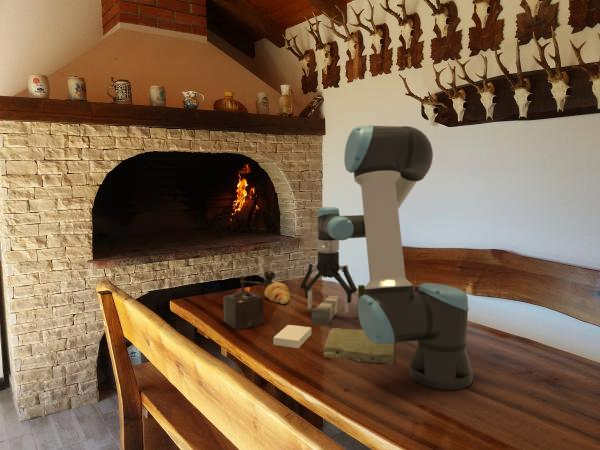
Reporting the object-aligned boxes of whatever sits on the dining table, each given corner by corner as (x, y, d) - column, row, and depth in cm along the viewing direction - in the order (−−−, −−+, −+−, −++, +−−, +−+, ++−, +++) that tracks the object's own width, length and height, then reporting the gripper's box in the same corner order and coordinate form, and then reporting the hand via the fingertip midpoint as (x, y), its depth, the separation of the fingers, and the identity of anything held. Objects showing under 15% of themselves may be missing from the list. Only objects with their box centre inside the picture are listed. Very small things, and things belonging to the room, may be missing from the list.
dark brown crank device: (237, 331, 147) (236, 277, 145) (222, 322, 156) (221, 271, 154) (278, 322, 156) (277, 270, 154) (261, 313, 165) (261, 265, 163)
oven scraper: (328, 325, 152) (328, 311, 152) (311, 323, 154) (311, 309, 154) (341, 310, 169) (341, 296, 169) (326, 308, 171) (326, 295, 171)
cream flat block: (311, 335, 145) (298, 349, 133) (288, 332, 147) (273, 345, 136) (311, 327, 144) (298, 340, 133) (288, 324, 147) (273, 337, 136)
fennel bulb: (375, 320, 158) (375, 286, 156) (363, 322, 156) (363, 288, 154) (365, 315, 163) (366, 282, 161) (354, 317, 161) (354, 284, 159)
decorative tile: (330, 336, 144) (330, 325, 143) (394, 341, 140) (395, 329, 139) (320, 360, 126) (320, 348, 125) (394, 366, 122) (394, 354, 121)
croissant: (292, 313, 176) (301, 295, 177) (270, 304, 172) (279, 285, 173) (275, 298, 196) (283, 281, 196) (255, 289, 192) (263, 272, 192)
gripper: (291, 251, 160) (291, 309, 163) (361, 255, 152) (360, 316, 155) (298, 247, 167) (298, 303, 170) (365, 251, 159) (364, 309, 162)
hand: (328, 309), depth 162 cm, fingers open, 13 cm apart
